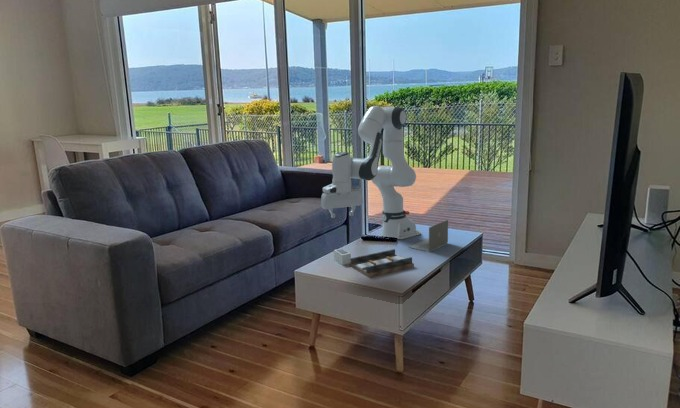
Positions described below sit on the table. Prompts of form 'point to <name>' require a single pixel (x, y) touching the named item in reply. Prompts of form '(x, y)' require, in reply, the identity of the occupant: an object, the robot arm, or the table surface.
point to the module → (342, 256)
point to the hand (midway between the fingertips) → (342, 216)
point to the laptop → (434, 238)
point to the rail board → (380, 263)
